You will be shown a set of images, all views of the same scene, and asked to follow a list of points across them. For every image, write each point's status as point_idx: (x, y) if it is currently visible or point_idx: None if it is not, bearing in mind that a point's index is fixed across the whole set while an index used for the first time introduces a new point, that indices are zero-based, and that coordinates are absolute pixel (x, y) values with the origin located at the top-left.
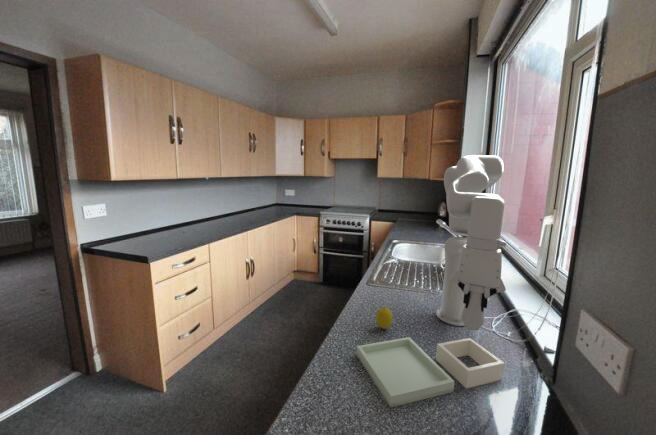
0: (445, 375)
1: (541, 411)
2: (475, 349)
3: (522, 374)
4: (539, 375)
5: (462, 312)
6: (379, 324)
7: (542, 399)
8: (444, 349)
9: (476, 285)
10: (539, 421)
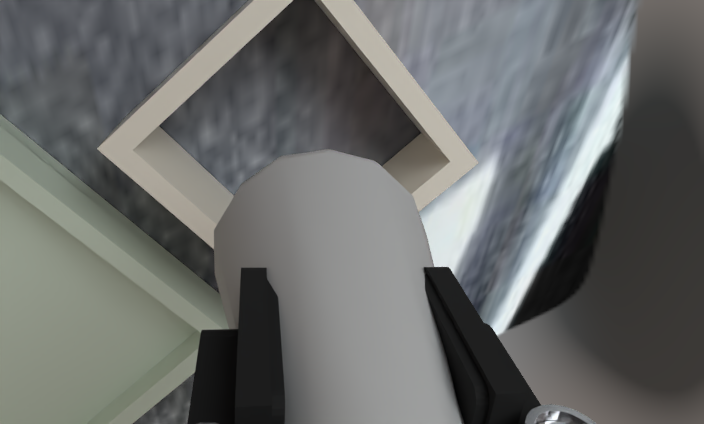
0: (192, 323)
1: (538, 254)
2: (342, 29)
3: (553, 42)
4: (633, 10)
5: (218, 267)
6: None
7: (569, 187)
8: (153, 191)
9: None
10: (513, 302)
